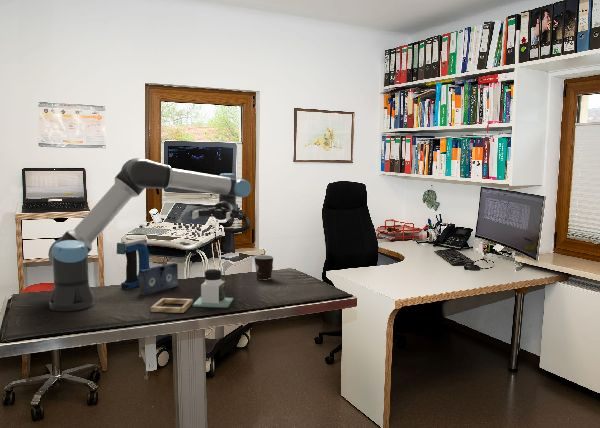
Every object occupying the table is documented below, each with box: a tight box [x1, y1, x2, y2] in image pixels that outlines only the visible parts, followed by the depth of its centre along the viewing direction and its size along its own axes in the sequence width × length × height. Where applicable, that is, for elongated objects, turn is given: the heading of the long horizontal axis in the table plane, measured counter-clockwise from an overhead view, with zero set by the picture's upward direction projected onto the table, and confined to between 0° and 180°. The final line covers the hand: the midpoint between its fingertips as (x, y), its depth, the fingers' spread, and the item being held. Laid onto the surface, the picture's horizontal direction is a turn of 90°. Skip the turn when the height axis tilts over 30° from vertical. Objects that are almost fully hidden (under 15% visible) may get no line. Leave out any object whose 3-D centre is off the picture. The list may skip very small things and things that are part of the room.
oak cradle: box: [150, 297, 194, 314], centre depth 185 cm, size 12×12×2 cm
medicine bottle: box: [200, 268, 226, 304], centre depth 190 cm, size 7×7×12 cm
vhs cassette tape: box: [138, 262, 179, 296], centre depth 208 cm, size 18×3×10 cm, turn 145°
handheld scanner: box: [116, 238, 150, 290], centre depth 213 cm, size 5×16×20 cm, turn 158°
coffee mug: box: [254, 254, 274, 279], centre depth 228 cm, size 12×9×10 cm
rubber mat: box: [192, 296, 234, 308], centre depth 191 cm, size 13×10×1 cm
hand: (210, 216), depth 197 cm, fingers open, 13 cm apart
